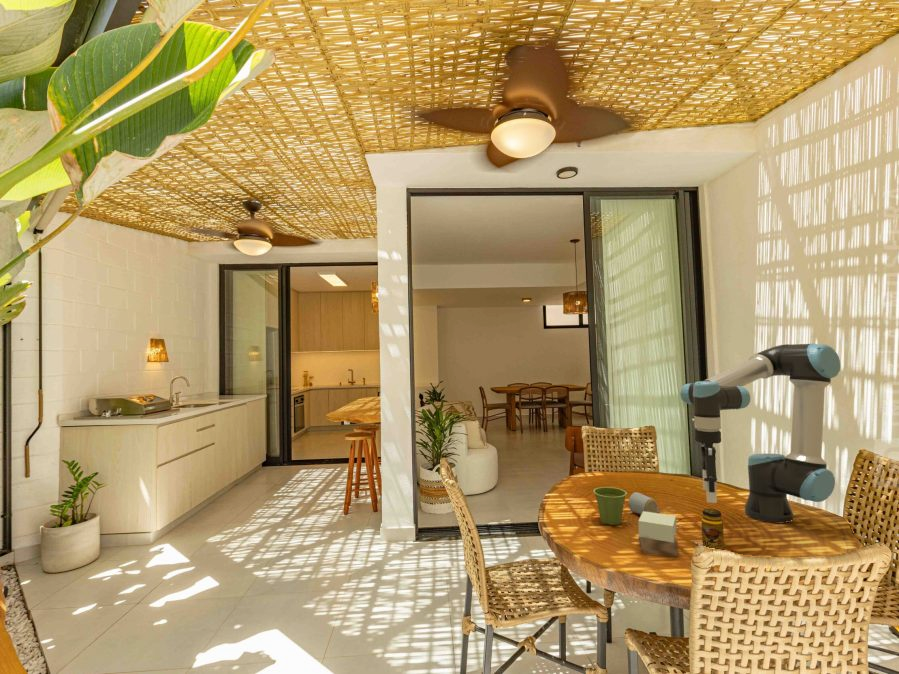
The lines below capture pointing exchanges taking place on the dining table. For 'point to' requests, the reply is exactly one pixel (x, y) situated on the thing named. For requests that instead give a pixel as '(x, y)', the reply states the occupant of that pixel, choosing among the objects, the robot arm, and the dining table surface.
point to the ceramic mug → (642, 503)
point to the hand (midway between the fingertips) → (709, 495)
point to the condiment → (712, 529)
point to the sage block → (657, 526)
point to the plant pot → (610, 504)
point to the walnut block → (658, 547)
